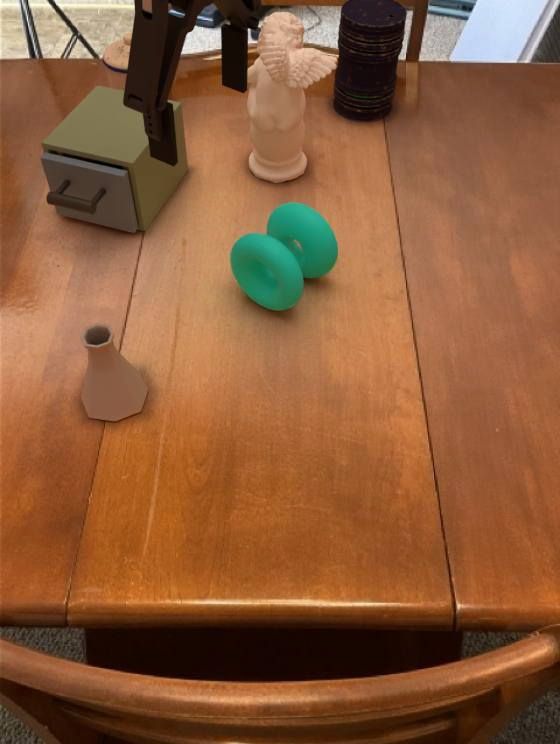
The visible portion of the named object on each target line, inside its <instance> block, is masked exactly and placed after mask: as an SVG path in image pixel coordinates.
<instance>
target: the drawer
mask: <svg viewBox="0 0 560 744" xmlns="http://www.w3.org/2000/svg"><path fill="white" fill-rule="evenodd" d="M40 162H41V165H42V167H43V172H44V175H45V178H46V181H47V185H48V188H49V191H48V193H47V194H46V198H45V199H46V203H47V204H48V205H49V206H54V209H55V211H56V215H59V216H63V217H67V218H71V219H74V220H79V221H84V222H88V223H92V224H96V225H99V226H104V227H107V228H112V229H116V230H120V231H124V232H128V233H131V234H132V233H133V234H135V233H136V232H137V231H138V230H137V228H138V224H137V219H136V218H137V212H136V207H135V201H134V196H133V191H132V185H131V180H130V174H129V169H128V167H124V166H120V165H115V164H111V163H106V162H102V161H98V160H93V159H89V158H84V157H80V156H75V155H71V154H67V153H62V152H58V151H57V155H54V154H50V153H46V152H45V153H44V152H43V154H41V156H40Z"/></svg>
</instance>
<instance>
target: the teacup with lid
mask: <svg viewBox="0 0 560 744" xmlns="http://www.w3.org/2000/svg"><path fill="white" fill-rule="evenodd" d="M131 38H132V32H127V33H125V34H124V35H123V37H122V39H120V40H116V41H114V42H112V43H110V44H109V45H108V46H107V47H105V48H104V50H103V53H102V58H101V59H102V60H101V61H102V63H103V65H104V66H105V72H106V77H107V83H108V88H112V89H117V90H122V91H124V90H125V82H126V75H127V68H128V60H129V53H130V46H131Z"/></svg>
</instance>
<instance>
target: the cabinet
mask: <svg viewBox="0 0 560 744" xmlns="http://www.w3.org/2000/svg"><path fill="white" fill-rule="evenodd" d="M123 97H124V91H122V90H117V89H112V88H109V86H108V87H107V86H102V85H96V86H95V87H94V88H93V89H92V90H91V91H90V92H89V93H88V94H87V95H86V96H85V97H83V99H82V100H81V101H80V102H79V103H78V104H77V105H76V107H74V109H73V110H72V111H70V112H69V113H68V115H66V117H64V119H63V120H62V121H61V122H60V123H59V124H58V125H57V126H56V127H55V128H54V129H53V130H52V131H51V132H50V133H49V134H48V135H47V136H46V137H45V138H44V139H43V140H42V141H41V146H42V147H41V148H42V149H43V154H44V153H45V152H46V153H50V154H54V155H57V151H58V152H62V153H67V154H71V155H75V156H80V157H84V158H89V159H93V160H98V161H102V162H106V163H111V164H115V165H120V166H124V167H128V169H129V174H130V180H131V185H132V191H133V196H134V201H135V207H136V212H137V218H136V219H137V224H138V228H137V230H136V231H142V232H146V231H147V229H148V227H149V226H150V225H151V224H152V222H153V221H154V219H155V218H156V216H157V215H158V214H159V213H160V211H161V209H162V208H163V207H164V205H165V204H166V202H167V201H168V199H169V198H170V197H171V195H172V194H173V192H174V191H175V189H176V188H177V187H178V185H179V184H180V182H181V181H182V180H183V178H184V177H185V175H186V174H187V172H188V171H189V164H188V154H187V153H188V152H187V145H186V134H185V125H184V115H183V104H182V102H181V101H176V100H172V99H168V101H167V102H169V103H172V104H173V110H174V121H175V133H176V144H177V155H178V163H177V164H176V165H175V166H174V167H173V166H171V165H169V164H166V163H164V162H162V161H159V160H157V159H154V158H152V157H150V149H149V142H148V136H147V135H146V133H145V128H144V121H143V113H140V112H138V111H135V110H133V109H130V108H128V107H125V106H124V104H123Z"/></svg>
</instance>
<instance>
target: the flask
mask: <svg viewBox="0 0 560 744" xmlns="http://www.w3.org/2000/svg"><path fill="white" fill-rule="evenodd" d="M80 339H81V342H82V344H83V346H84V348H85V349H86V350H87V367H86V373H85V377H84V381H83V386H82V389H81V394H80V400H81V403H82V405H83V407H84V409H85V412H86V414H87V417H88V418H89V419H93V420H101V421H108V422H118V421H120V420H122V419H125V418H128V417H131V416H133V415H135V414H138V413H141V412H142V409H143V408H144V404H145V401H146V398H147V395H148V392H149V388H148V387H147V385H146V383H145V381H144V379H143V377H142V375H141V373H140V371H139V370H138V369H137V368H136V367H135V366H134V365H133V364H132V363H131V362H130V361H129V360H127V358H125V356H124V355H123V354H121V352H120V351H119V350H118V349H117V347H116V346H115V343H114V339H115V332H114V330H113V328H112V326H111V324H108V323H101V322H99V323H98V322H96V323H94V324H90V325H87V326H84V328H83V330H82V333H81V334H80Z"/></svg>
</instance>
